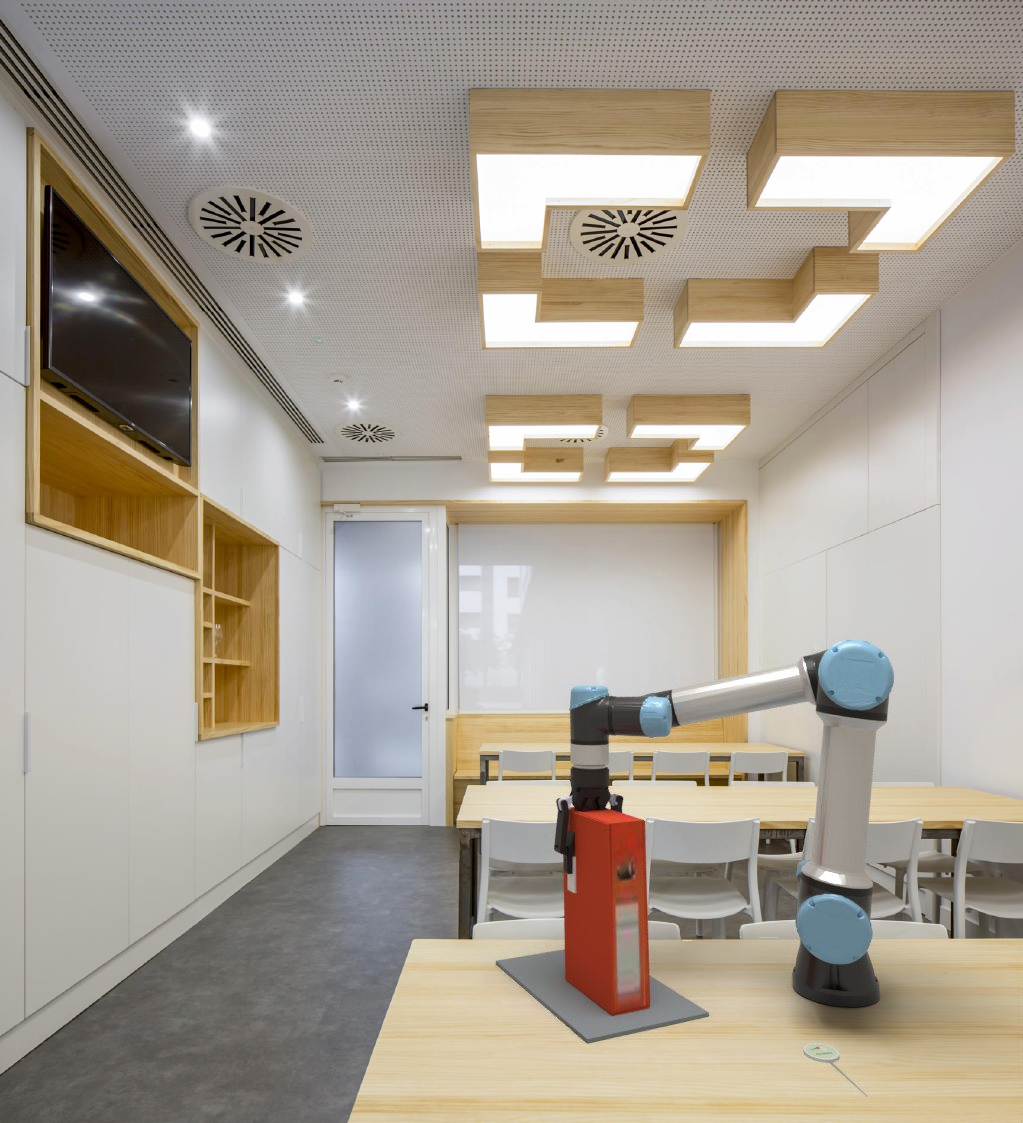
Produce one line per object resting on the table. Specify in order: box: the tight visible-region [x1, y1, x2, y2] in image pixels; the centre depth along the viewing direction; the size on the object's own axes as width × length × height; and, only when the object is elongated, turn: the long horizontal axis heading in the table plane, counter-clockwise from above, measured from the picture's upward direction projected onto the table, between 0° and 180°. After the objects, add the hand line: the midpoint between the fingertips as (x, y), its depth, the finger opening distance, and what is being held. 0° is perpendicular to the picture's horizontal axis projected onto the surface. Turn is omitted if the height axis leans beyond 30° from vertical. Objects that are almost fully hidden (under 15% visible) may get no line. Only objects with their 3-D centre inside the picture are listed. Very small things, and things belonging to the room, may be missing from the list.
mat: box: [495, 948, 710, 1044], centre depth 153 cm, size 24×38×1 cm, turn 24°
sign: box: [803, 1042, 868, 1097], centre depth 122 cm, size 5×1×15 cm
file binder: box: [562, 806, 650, 1016], centre depth 150 cm, size 8×17×32 cm, turn 24°
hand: (591, 888), depth 155 cm, fingers open, 7 cm apart
